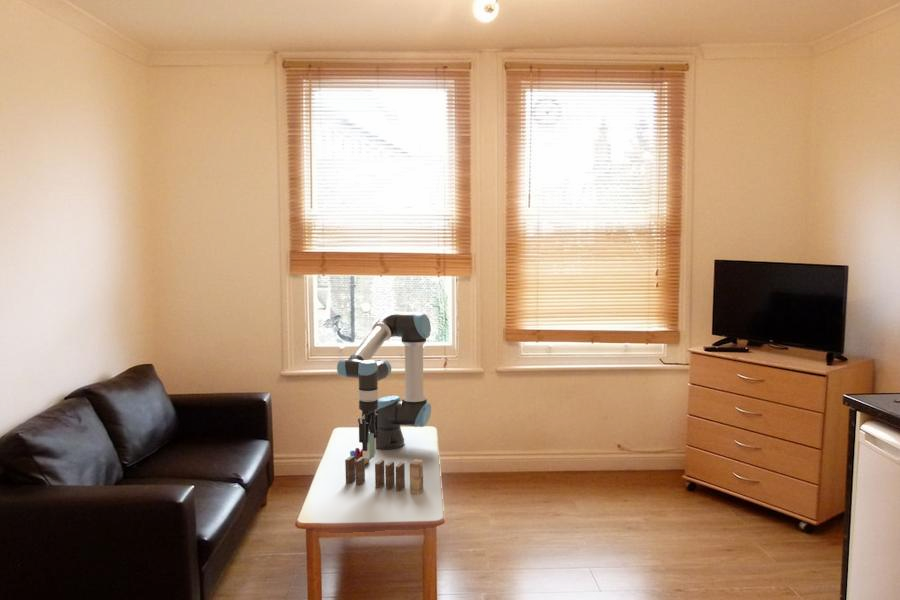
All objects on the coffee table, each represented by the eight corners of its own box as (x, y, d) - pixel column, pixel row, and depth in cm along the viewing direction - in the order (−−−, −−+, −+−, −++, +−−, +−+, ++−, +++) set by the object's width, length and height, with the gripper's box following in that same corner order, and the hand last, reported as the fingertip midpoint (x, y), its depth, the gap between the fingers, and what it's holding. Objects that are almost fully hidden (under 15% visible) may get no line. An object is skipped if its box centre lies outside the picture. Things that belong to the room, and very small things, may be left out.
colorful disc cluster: (366, 468, 266) (365, 452, 265) (345, 466, 268) (344, 450, 267) (372, 461, 274) (372, 445, 274) (352, 459, 276) (351, 444, 276)
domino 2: (355, 484, 248) (355, 461, 247) (361, 480, 253) (360, 456, 252) (359, 485, 247) (358, 461, 246) (364, 480, 252) (364, 457, 251)
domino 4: (385, 489, 243) (385, 465, 242) (391, 484, 248) (390, 460, 247) (389, 490, 243) (388, 465, 242) (394, 485, 247) (394, 461, 246)
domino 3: (375, 487, 245) (375, 463, 244) (381, 483, 250) (380, 459, 249) (379, 488, 244) (378, 464, 243) (384, 483, 249) (384, 460, 248)
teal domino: (364, 460, 245) (364, 436, 244) (370, 456, 250) (370, 432, 249) (368, 460, 245) (367, 436, 244) (374, 456, 249) (373, 432, 248)
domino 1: (345, 483, 250) (345, 459, 248) (351, 478, 254) (351, 455, 253) (349, 484, 249) (348, 460, 248) (355, 479, 254) (354, 456, 253)
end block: (415, 488, 244) (414, 459, 243) (423, 489, 243) (422, 460, 242) (410, 493, 240) (409, 463, 238) (418, 494, 238) (417, 464, 237)
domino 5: (395, 491, 242) (395, 466, 241) (401, 486, 246) (400, 462, 245) (399, 491, 241) (399, 467, 240) (404, 486, 246) (404, 462, 245)
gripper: (370, 393, 255) (371, 447, 257) (348, 404, 238) (350, 462, 240) (386, 394, 252) (387, 449, 254) (366, 405, 235) (367, 464, 237)
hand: (369, 455), depth 247 cm, fingers closed on teal domino, 5 cm apart
